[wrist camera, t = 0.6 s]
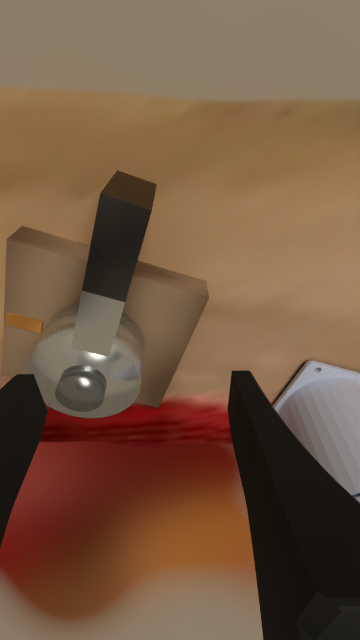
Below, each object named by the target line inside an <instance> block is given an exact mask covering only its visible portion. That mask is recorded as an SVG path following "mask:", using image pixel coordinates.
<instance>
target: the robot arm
mask: <svg viewBox="0 0 360 640" xmlns="http://www.w3.org/2000/svg"><path fill="white" fill-rule="evenodd" d="M316 368H317V369H316ZM47 412H48V411H47V408H46V405H45V403H44V400H43V397H42V395H41V392H40V389H39V387H38V384H37V381H36V379H35V376H34V374H17V375H16V376H14V377H13V378H12V379H11V380H10V381H9V382H8V383H7V384H6V385H5V386H3V387H2V388H1V389H0V546H1V543H2V539H3V536H4V533H5V530H6V526H7V523H8V520H9V516H10V513H11V511H12V508H13V505H14V502H15V500H16V497H17V495H18V492H19V490H20V488H21V485H22V483H23V480H24V478H25V475H26V473H27V471H28V468H29V466H30V463H31V461H32V458H33V456H34V453H35V451H36V448H37V446H38V443H39V441H40V438H41V435H42V431H43V428H44V424H45V420H46V416H47ZM228 415H229V424H230V432H231V438H232V442H233V447H234V451H235V455H236V460H237V464H238V468H239V473H240V477H241V481H242V486H243V490H244V494H245V499H246V504H247V510H248V517H249V524H250V531H251V539H252V546H253V554H254V561H255V569H256V578H257V586H258V594H259V603H260V612H261V620H262V630H263V639H264V640H360V373H358V372H354V371H351V370H347V369H343V368H339V367H336V366H332V365H328V364H325V363H321V362H317V361H308V362H306V363H305V364H304V366H303V367H302V368H301V369H300V371H299V372H298V373H297V375H296V376H295V377H294V379H293V380H292V381H291V383H290V384H289V385H288V386H287V388H286V389H285V390H284V392H283V393H282V394H281V396H280V397H279V398H278V400H277V401H276V402H275V403H274V405H273V406H272V405H271V403H270V402H269V400H268V399H267V397H266V396H265V394H264V393H263V391H262V390H261V388H260V387H259V385H258V383H257V382H256V380H255V378H254V377H253V375H252V373H251V372H250V371H232V376H231V384H230V393H229V402H228Z"/></svg>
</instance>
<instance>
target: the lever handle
mask: <svg viewBox="0 0 360 640" xmlns="http://www.w3.org/2000/svg"><path fill="white" fill-rule="evenodd" d="M156 185H157V184H154V183H151V182H149V181H146V180H143V179H140V178H137V177H134V176H132V175H129V174H126V173H123V172H120V171H118V170H117V172H116V173H115V174H114V176H113V177H112V178H111V180H110V181H109V182H108V184H107V185H106V186H105V188H104V189H103V190H102V192H101V193H100V198H99V204H98V209H97V214H96V219H95V225H94V230H93V235H92V240H91V245H90V251H89V256H88V261H87V266H86V271H85V277H84V282H83V287H82V292H81V297H80V303H76V304H72V305H69V306H66V307H64V308H62V309H61V310H59V311H58V312H56V313H55V314H54V315H53V316H52V317H51V319H50V321H49V322H48V324H47V326H46V328H45V329H44V331H43V333H42V335H41V337H40V338H39V340H38V342H37V344H36V346H35V348H34V349H33V351H32V353H31V355H30V357H29V358H28V361H27V363H26V367H25V374H34V376H35V379H36V381H37V384H38V387H39V389H40V392H41V395H42V397H43V400H44V403H45V404H46V405H48V406H49V407H51V408H53V409H55V410H57V411H59V412H62V413H64V414H68V415H71V416H76V417H82V418H101V417H107V416H111V415H114V414H117V413H119V412H121V411H123V410H125V409H126V408H128V407H129V406H130V405H131V404H132V403H133V402H134V401H135V400H136V398H137V396H138V394H139V391H140V386H141V377H142V368H143V359H144V350H145V340H144V336H143V334H142V331H141V330H140V328H139V326H138V325H137V324H136V322H135V321H134V320H133V319H132V318H131V317H130V316H128V315H127V314H126V313H124V312H123V308H124V305H125V301H126V298H127V294H128V291H129V287H130V284H131V280H132V277H133V274H134V270H135V267H136V263H137V260H138V256H139V253H140V249H141V246H142V242H143V239H144V235H145V232H146V228H147V225H148V221H149V218H150V215H151V211H152V206H153V201H154V195H155V190H156Z"/></svg>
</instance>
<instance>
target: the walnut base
mask: <svg viewBox="0 0 360 640" xmlns="http://www.w3.org/2000/svg"><path fill="white" fill-rule="evenodd" d="M89 251H90V246H87V245H83V244H80V243H77V242H73V241H70V240H67V239H63V238H60V237H57V236H53V235H50V234H47V233H43V232H40V231H37V230H34V229H30V228H27V227H24V226H22V227H20V228H19V229H18V230H17V231H16V232H15V233H14V234H12V235H11V236H10V237H9V238H8V239H7V247H6V276H5V304H4V333H3V362H2V375H5V376H10V377H14V376H16V375H17V374H25V367H26V363H27V361H28V358H29V357H30V355H31V353H32V351H33V349H34V348H35V346H36V344H37V342H38V340H39V338H40V337H41V335H42V333H43V331H44V329H45V328H46V326H47V324H48V322H49V321H50V319H51V317H52V316H53V315H54V314H55V313H56V312H58V311H59V310H61V309H62V308H64V307H66V306H69V305H72V304H76V303H80V297H81V292H82V287H83V282H84V277H85V271H86V266H87V261H88V256H89ZM208 299H209V296H208V290H207V285H206V281H203V280H199V279H196V278H193V277H189V276H186V275H183V274H179V273H176V272H173V271H169V270H166V269H163V268H159V267H156V266H153V265H149V264H146V263H143V262H140V261H137V263H136V267H135V270H134V274H133V277H132V280H131V284H130V287H129V291H128V294H127V298H126V301H125V305H124V308H123V312H124V313H126V314H127V315H128V316H130V317H131V318H132V319H133V320H134V321H135V322H136V324H137V325H138V326H139V328H140V330H141V331H142V334H143V336H144V340H145V350H144V359H143V368H142V377H141V386H140V391H139V394H138V396H137V398H136V400H135V401H134V403H139V404H144V405H149V406H153V407H158V408H159V406H160V403H161V401H162V399H163V397H164V395H165V393H166V390H167V388H168V386H169V384H170V382H171V379H172V377H173V375H174V373H175V371H176V369H177V366H178V364H179V362H180V360H181V358H182V356H183V353H184V351H185V349H186V347H187V345H188V342H189V340H190V338H191V336H192V334H193V332H194V329H195V327H196V325H197V323H198V321H199V319H200V316H201V314H202V312H203V310H204V308H205V305H206V303H207V301H208Z"/></svg>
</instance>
